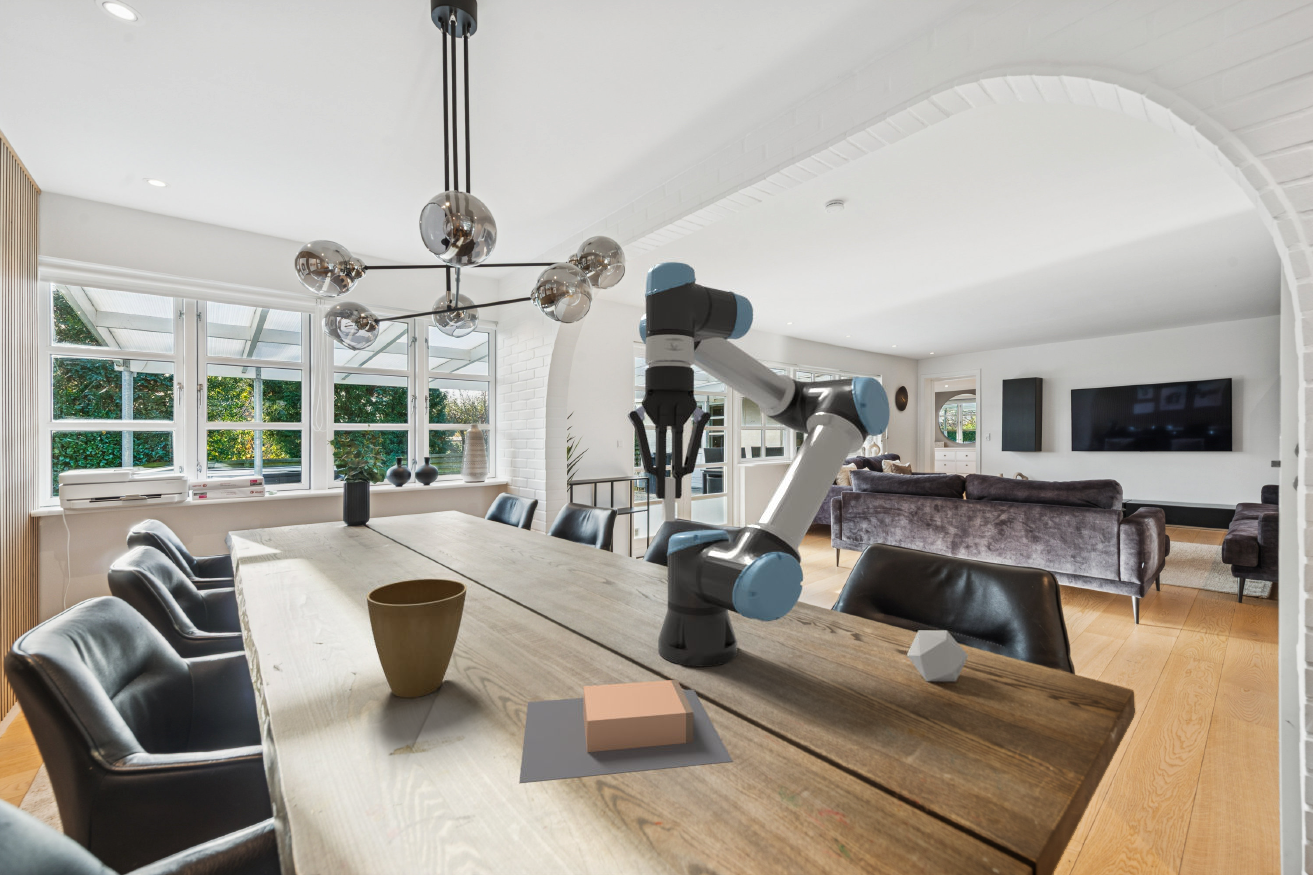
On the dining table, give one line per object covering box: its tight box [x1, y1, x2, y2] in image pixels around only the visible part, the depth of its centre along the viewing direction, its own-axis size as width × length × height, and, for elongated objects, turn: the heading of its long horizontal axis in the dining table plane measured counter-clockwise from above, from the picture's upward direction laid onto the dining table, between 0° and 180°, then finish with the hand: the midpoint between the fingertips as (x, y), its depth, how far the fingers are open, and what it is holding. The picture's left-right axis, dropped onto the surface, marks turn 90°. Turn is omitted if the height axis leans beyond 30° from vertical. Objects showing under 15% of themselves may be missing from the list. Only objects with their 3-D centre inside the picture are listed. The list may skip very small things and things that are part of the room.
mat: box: [519, 689, 734, 784], centre depth 76 cm, size 20×26×1 cm
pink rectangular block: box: [583, 679, 693, 752], centre depth 77 cm, size 10×4×14 cm
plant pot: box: [366, 578, 467, 699], centre depth 90 cm, size 15×15×16 cm
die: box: [906, 629, 969, 682], centre depth 95 cm, size 8×9×10 cm
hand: (668, 519), depth 85 cm, fingers closed
